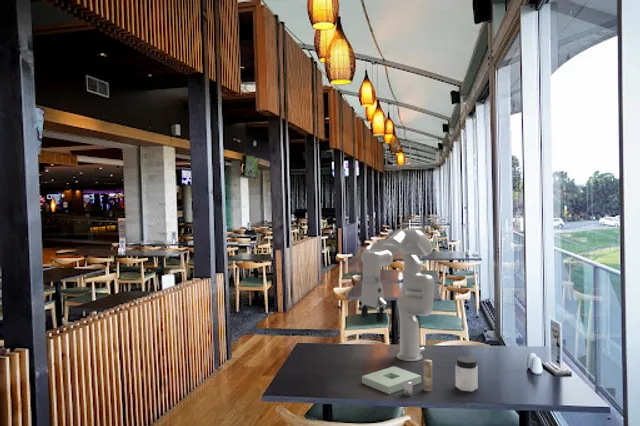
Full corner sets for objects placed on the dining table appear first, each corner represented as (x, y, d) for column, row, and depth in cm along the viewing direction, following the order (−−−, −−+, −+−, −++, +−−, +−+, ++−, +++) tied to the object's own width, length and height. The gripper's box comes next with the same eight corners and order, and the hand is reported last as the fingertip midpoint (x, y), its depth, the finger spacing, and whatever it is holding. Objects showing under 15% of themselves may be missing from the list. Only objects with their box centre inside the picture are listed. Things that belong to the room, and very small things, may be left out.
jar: (455, 390, 200) (455, 361, 199) (455, 383, 207) (455, 355, 207) (478, 392, 197) (477, 363, 197) (477, 385, 205) (477, 357, 205)
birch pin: (427, 387, 203) (427, 359, 203) (434, 389, 200) (433, 361, 200) (422, 389, 201) (421, 360, 201) (428, 391, 198) (428, 362, 198)
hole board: (393, 372, 221) (393, 366, 221) (421, 382, 209) (421, 375, 209) (362, 383, 209) (362, 376, 209) (389, 394, 196) (388, 386, 196)
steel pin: (407, 391, 199) (407, 379, 198) (414, 394, 196) (414, 382, 196) (402, 394, 196) (401, 381, 196) (408, 396, 194) (408, 384, 194)
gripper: (392, 281, 204) (392, 321, 204) (365, 276, 218) (365, 314, 218) (378, 283, 199) (379, 324, 200) (352, 278, 213) (352, 316, 214)
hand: (372, 319), depth 209 cm, fingers open, 9 cm apart
